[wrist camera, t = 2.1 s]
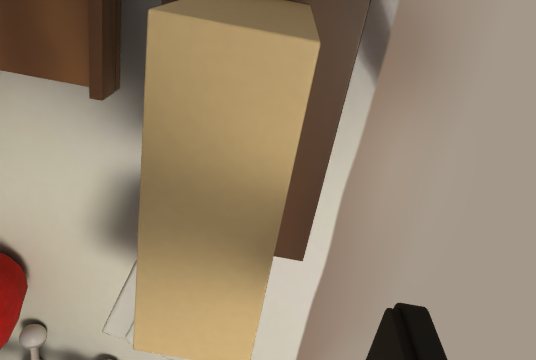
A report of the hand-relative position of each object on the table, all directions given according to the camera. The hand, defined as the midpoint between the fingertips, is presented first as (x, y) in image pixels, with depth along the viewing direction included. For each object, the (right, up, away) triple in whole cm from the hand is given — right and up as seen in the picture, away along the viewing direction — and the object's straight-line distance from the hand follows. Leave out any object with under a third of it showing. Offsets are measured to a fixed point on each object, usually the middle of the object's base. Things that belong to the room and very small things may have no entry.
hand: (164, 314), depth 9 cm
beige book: (+1, +6, +12) cm, 13 cm away
